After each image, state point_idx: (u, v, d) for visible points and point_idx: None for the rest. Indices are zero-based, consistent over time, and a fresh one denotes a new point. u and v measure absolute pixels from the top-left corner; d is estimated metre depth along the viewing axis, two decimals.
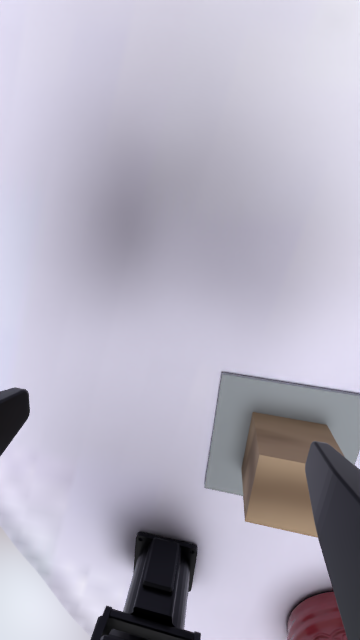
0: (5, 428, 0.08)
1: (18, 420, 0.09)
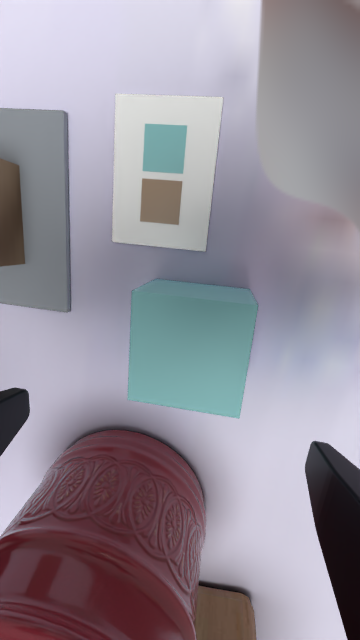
0: (5, 428, 0.08)
1: (18, 420, 0.09)
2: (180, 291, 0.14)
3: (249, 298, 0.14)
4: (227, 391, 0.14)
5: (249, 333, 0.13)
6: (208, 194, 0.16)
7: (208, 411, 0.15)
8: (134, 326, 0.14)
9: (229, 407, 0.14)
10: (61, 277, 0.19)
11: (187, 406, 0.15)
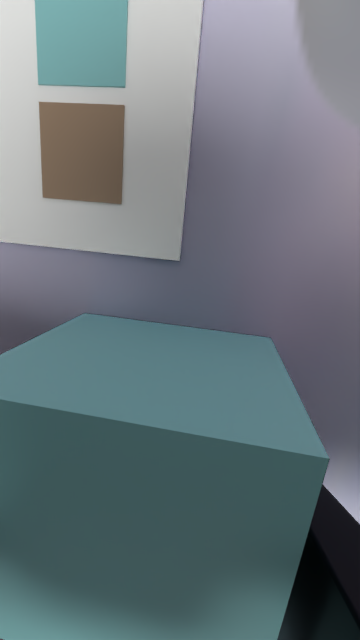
0: None
1: None
2: (98, 372, 0.05)
3: (284, 395, 0.05)
4: None
5: (294, 534, 0.04)
6: (182, 134, 0.07)
7: None
8: None
9: None
10: None
11: None
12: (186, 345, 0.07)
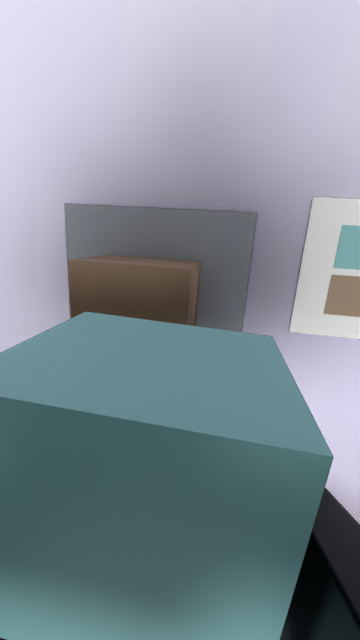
0: None
1: None
2: (100, 370, 0.05)
3: (287, 393, 0.05)
4: None
5: (297, 533, 0.04)
6: None
7: None
8: None
9: None
10: None
11: None
12: (188, 343, 0.07)
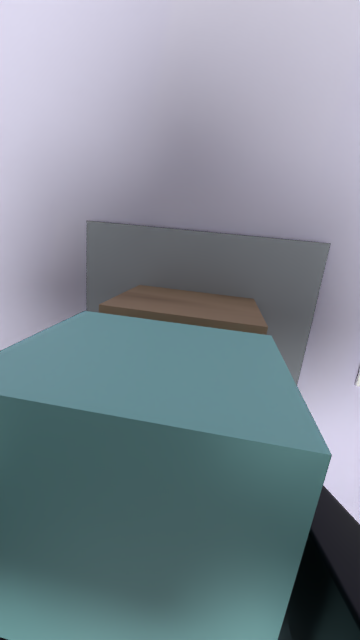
0: None
1: None
2: (98, 369, 0.05)
3: (286, 392, 0.05)
4: None
5: (295, 531, 0.04)
6: None
7: None
8: None
9: None
10: None
11: None
12: (186, 342, 0.07)
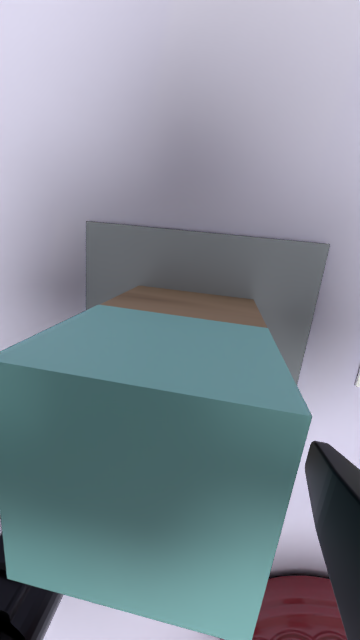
0: None
1: None
2: (118, 351, 0.06)
3: (278, 372, 0.06)
4: (224, 593, 0.06)
5: (283, 481, 0.05)
6: None
7: (179, 624, 0.06)
8: (1, 440, 0.06)
9: (226, 623, 0.06)
10: None
11: (134, 608, 0.07)
12: (192, 332, 0.08)
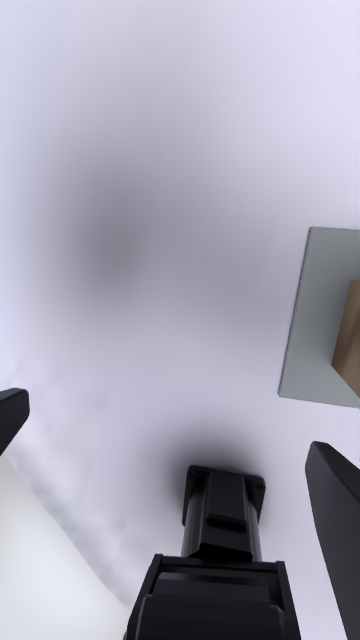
0: (5, 428, 0.08)
1: (18, 420, 0.09)
2: None
3: None
4: None
5: None
6: None
7: None
8: None
9: None
10: None
11: None
12: None
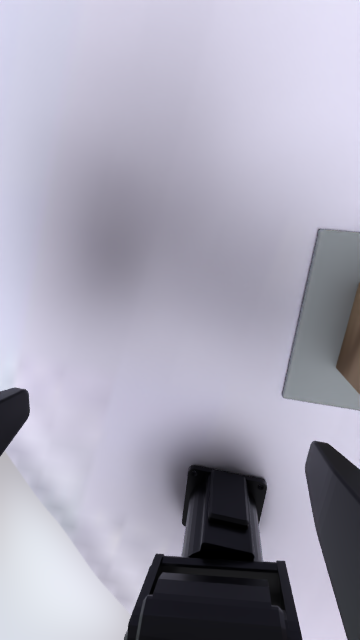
0: (5, 428, 0.08)
1: (18, 420, 0.09)
2: None
3: None
4: None
5: None
6: None
7: None
8: None
9: None
10: None
11: None
12: None
